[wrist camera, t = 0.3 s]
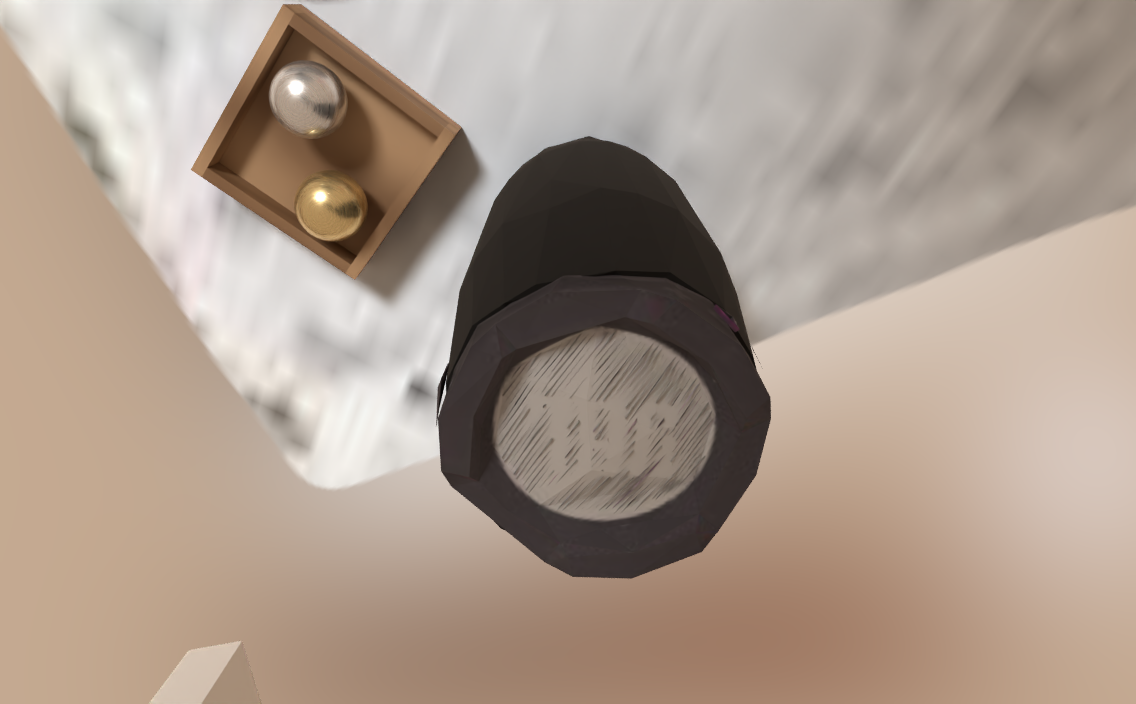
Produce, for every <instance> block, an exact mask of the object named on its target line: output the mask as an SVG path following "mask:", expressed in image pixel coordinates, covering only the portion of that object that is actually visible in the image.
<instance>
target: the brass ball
mask: <svg viewBox="0 0 1136 704" xmlns="http://www.w3.org/2000/svg"><path fill="white" fill-rule="evenodd" d="M294 209H295V214H296V216H297V219H298V221H299V223H300V224H301V226H302V227H303V228H304V229H305V230H306V231H307V232H308V233H309V234H311V235H312V236H314V237H316V238H318V239H321V240H325V241H333V242H334V241H342V240H345V239H348V238H350V237H352V236H353V235H354V234H356V233H357V232H358V231H359V230H360V229H361V227H362V226H363V224H364V222H365V220H366V217H367V212H368V203H367V198H366V195H365V193H364V191H363V189H362V187H361V186H360V185H359V183H358V182H357V181H356V180H354V179H353V178H352V177H350V176H349V175H347V174H345V173H343V172H340V171H336V170H322V171H318V172H315V173H313V174H311V175H309V176H308V177H307V178H305V179H304V180H303V181H302V183H301V184H300V185H299V187H298V189H297V191H296V194H295V198H294Z"/></svg>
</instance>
